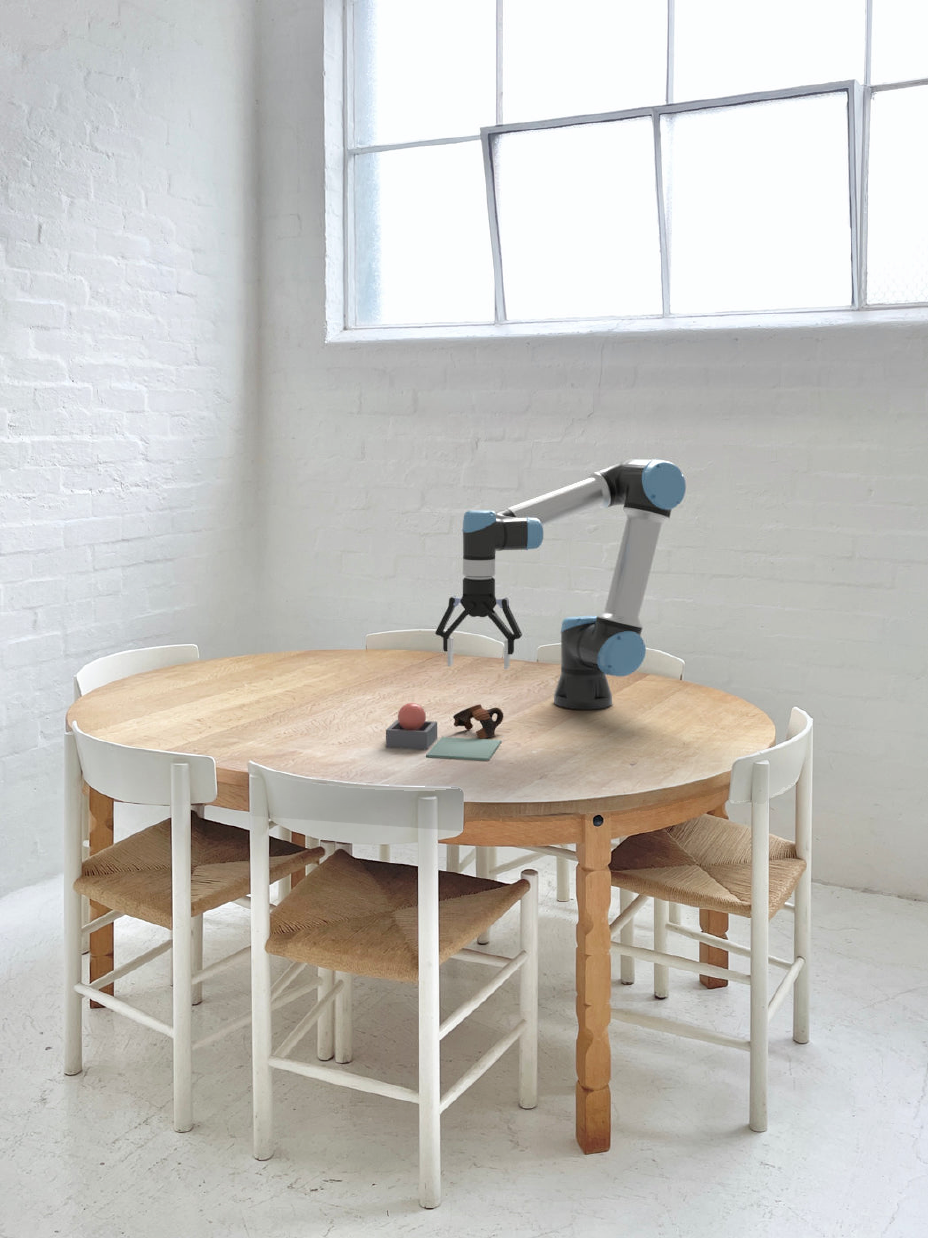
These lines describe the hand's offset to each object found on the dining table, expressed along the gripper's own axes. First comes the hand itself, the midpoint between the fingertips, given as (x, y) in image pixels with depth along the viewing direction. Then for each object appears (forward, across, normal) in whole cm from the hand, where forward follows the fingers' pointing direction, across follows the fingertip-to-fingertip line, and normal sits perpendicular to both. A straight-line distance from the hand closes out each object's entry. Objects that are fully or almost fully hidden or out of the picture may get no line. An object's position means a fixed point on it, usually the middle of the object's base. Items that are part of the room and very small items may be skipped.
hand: (478, 666), depth 271 cm
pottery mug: (+16, -1, +2) cm, 16 cm away
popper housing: (+16, +13, +13) cm, 24 cm away
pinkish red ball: (+13, +13, +13) cm, 22 cm away
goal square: (+16, 0, +16) cm, 22 cm away
